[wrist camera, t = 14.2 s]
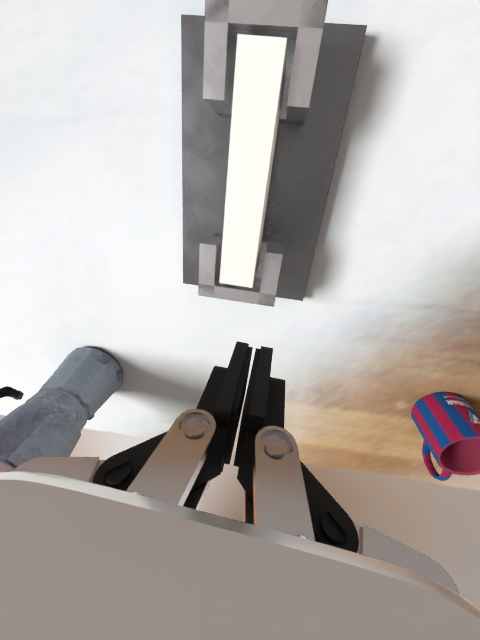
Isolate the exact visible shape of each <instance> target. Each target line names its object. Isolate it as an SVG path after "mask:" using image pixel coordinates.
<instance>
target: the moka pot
mask: <svg viewBox="0 0 480 640" xmlns="http://www.w3.org/2000/svg"><path fill="white" fill-rule="evenodd" d="M122 381H123V372H122V369H121V367H120V366H119V364H118V363H117V361H115V360H114V359H113V358H112V357H111V356H110V355H108V354H106V353H104V352H102V351H100V350H99V349H95V348H90V347H82V348H77V349H75V350H74V351H73V352H72V353H70V354H69V355H68V356H67V357H66V359H65V360H64V361H63V362H62V364H61V365H60V366H59V367H58V369H57V370H56V371H55V372H54V373H53V375H52V376H51V377H50V378H49V379H48V381H47V382H46V383H45V384H44V385H43V386H42V388H41V389H40V390H39V392H38V393H36V394H35V395H34V396H33V397H31V398H30V399H28V400H27V401H26V403H25V404H23V405H21V406H19V407H18V408H16V409H15V410H14V411H12V412H11V413H10V414H9V415H7V416H6V417H4V418H3V419H2V420H1V421H0V473H2V472H12V471H13V470H14V469H15V468H16V467H18V466H19V465H21V464H22V463H24V462H26V461H28V460H30V459H33V458H38V457H70V454H71V452H72V451H73V449H74V447H75V445H76V443H77V442H78V440H79V438H80V436H81V430H82V428H83V427H84V425H85V424H86V422H87V420H90V419H92V418H93V417H94V413H95V412H96V411H97V410H98V409H99V408H100V407H101V406H102V405H103V404H104V403H105V401H106V400H107V399H108V398H109V397H110V396H111V395H112V394H113V393H114V392H115V391H116V390H117V389H118V388H119V386H120V385H121V384H122ZM5 396H9V397H13V398H14V399H16V400H18V399H22V396H23V393H22V392H21V391H17V390H16V389H13V388H11V387H7V386H6V387H3V388H1V389H0V398H2V397H5Z"/></svg>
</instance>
